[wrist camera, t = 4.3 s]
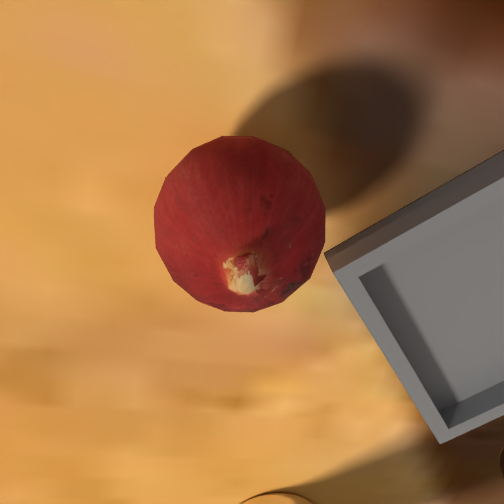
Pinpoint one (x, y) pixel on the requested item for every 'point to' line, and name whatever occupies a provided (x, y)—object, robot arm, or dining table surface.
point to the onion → (239, 224)
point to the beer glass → (277, 499)
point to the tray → (438, 297)
